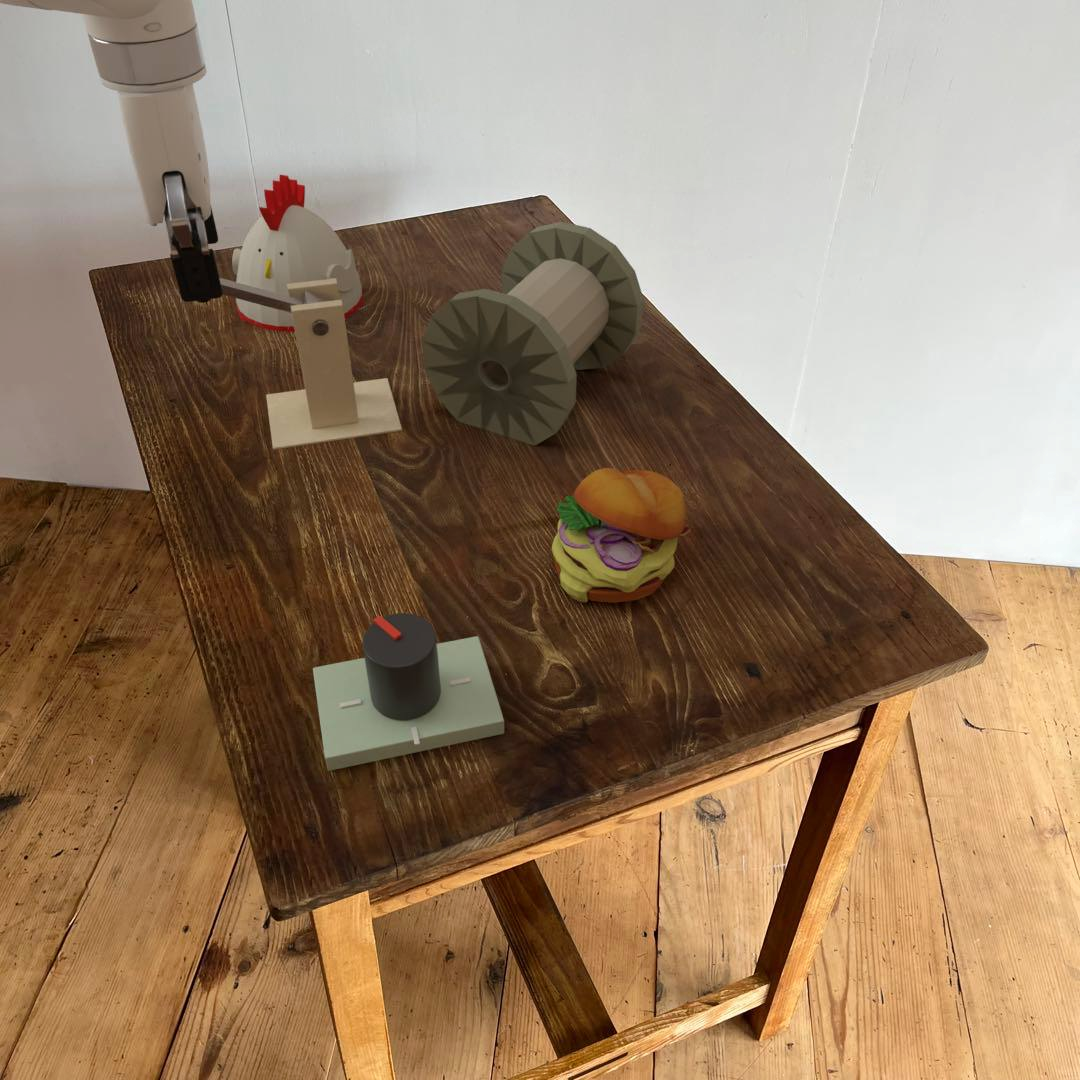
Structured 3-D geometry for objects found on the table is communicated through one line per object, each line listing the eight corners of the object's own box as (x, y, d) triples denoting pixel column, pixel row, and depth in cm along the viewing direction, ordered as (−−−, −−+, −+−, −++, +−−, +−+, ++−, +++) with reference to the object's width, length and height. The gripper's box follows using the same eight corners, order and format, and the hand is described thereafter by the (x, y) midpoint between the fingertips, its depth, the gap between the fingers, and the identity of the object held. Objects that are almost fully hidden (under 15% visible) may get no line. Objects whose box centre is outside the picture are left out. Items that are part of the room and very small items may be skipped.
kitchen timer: (215, 328, 111) (184, 196, 101) (275, 271, 121) (252, 145, 111) (331, 348, 108) (311, 214, 98) (383, 288, 118) (369, 161, 108)
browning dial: (455, 693, 70) (451, 636, 66) (400, 732, 67) (393, 676, 63) (410, 655, 72) (404, 598, 68) (356, 692, 70) (346, 635, 66)
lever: (190, 305, 84) (197, 280, 83) (189, 277, 88) (196, 252, 87) (331, 341, 90) (339, 318, 89) (325, 314, 93) (333, 291, 92)
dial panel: (331, 791, 67) (325, 763, 65) (317, 689, 74) (311, 660, 72) (506, 753, 70) (506, 725, 68) (478, 657, 76) (477, 629, 74)
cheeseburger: (518, 571, 83) (538, 464, 78) (600, 534, 90) (624, 434, 85) (611, 633, 78) (639, 523, 73) (691, 589, 85) (722, 486, 80)
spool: (509, 341, 110) (507, 208, 100) (637, 378, 105) (648, 241, 95) (428, 420, 99) (417, 280, 89) (566, 465, 94) (570, 321, 84)
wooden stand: (274, 459, 94) (247, 328, 85) (268, 405, 100) (241, 278, 91) (403, 439, 96) (390, 310, 87) (388, 388, 103) (374, 262, 94)
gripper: (100, 23, 79) (156, 229, 91) (88, 100, 67) (154, 328, 78) (199, 16, 80) (241, 220, 92) (205, 91, 68) (253, 315, 80)
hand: (201, 269), depth 85 cm, fingers open, 9 cm apart
